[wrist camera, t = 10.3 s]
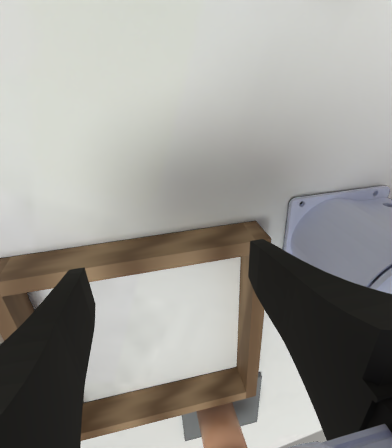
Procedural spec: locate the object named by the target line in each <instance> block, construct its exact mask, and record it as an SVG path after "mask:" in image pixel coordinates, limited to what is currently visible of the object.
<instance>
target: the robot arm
mask: <svg viewBox="0 0 392 448" xmlns="http://www.w3.org/2000/svg"><path fill="white" fill-rule="evenodd" d="M373 193H374V194H373ZM389 193H390V188H389V187H387V186H377V187H370V188H362V189H355V190H348V191H340V192H333V193H325V194H318V195H311V196H303V197H296V198H293V199H292V200H291V201H290V203H289V209H288V217H287V225H286V233H285V241H284V249H283V250H282V249H281V248H279V247H277V246H275V245H274V244H272V243H270V242H268V241H266V240H264V239H259V240H253V241H250V252H249V270H248V278H249V280H250V282H251V285H252V287H253V289H254V292H255V294H256V296H257V298H258V299H259V301H260V303H261V304H262V306H263V308H264V309H265V311H266V313H267V314H268V316H269V318H270V319H271V321H272V322H273V324H274V326H275V327H276V329H277V331H278V332H279V334H280V336H281V337H282V339H283V341H284V343H285V345H286V347H287V349H288V351H289V353H290V355H291V357H292V359H293V361H294V363H295V365H296V368H297V370H298V372H299V374H300V377H301V379H302V381H303V383H304V385H305V388H306V390H307V392H308V395H309V397H310V400H311V402H312V404H313V407H314V409H315V411H316V414H317V416H318V419H319V421H320V424H321V427H322V429H323V432H324V434H325V437H326V439H327V441H325V442H322V443H321V442H310V443H305V444H299V445H296V446H292V447H289V448H392V199H390V198H388V196H389ZM301 201H303V202H302V204H301V205H299V204H300V202H301ZM94 325H95V302H94V298H93V295H92V291H91V288H90V284H89V281H88V277H87V274H86V271H85V267H83V268H77V269H71V270H68V272H67V273H66V274H65V275H64V276H63V278H62V279H61V280H60V281H59V283H58V284H57V285H56V286H55V287H54V289H53V290H52V291H51V292H50V294H49V295H48V296H47V297H46V298H45V299H44V301H43V302H42V303H41V304H40V305H39V306H38V308H37V309H36V310H35V311H34V312H33V313H32V314H31V315H30V316H29V317H28V318H27V319H26V320H25V322H24V323H23V324H22V325H21V326H20V327H19V328H18V329H17V330H16V331H15V332H13V333H12V334H11V335H10V336H9V337H8V338H7V339H6V340H5V341H4V342H3V343H2V344H0V448H80V442H81V424H82V409H83V395H84V386H85V378H86V373H87V367H88V361H89V356H90V350H91V344H92V338H93V333H94Z"/></svg>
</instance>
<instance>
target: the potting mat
mask: <svg viewBox="0 0 392 448" xmlns="http://www.w3.org/2000/svg"><path fill="white" fill-rule="evenodd" d="M261 379H262V376H261V374H260V372H258V380H257V391H256V396H254V397H250V398H246V399H242V400H238V401H234V402H232V403H233V406H234V409H235V412H236V415H237V418H238V421H239V424H240V426H243V425H247V424H251V423H254V422H257V417H258V407H259V398H260V389H261ZM196 412H197V411H195V412H192V413H188V414H184V415H182V420H183V428H184V436H185V441H188V440H192V439H196V438H199V437H201V432H200V427H199V423H198V418H197V413H196Z"/></svg>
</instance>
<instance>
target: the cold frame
mask: <svg viewBox="0 0 392 448" xmlns="http://www.w3.org/2000/svg"><path fill="white" fill-rule="evenodd" d="M259 239H264V240H266V241H268V242H270V243H271V238H270V237H269V236H268V234H267V233H266V232H265V231H264V230H263V229H262V228H261V226H260V225H259V224H258V223H257V222H256V221H251V222H244V223H237V224H231V225H224V226H217V227H210V228H203V229H197V230H190V231H183V232H176V233H170V234H163V235H156V236H149V237H142V238H136V239H129V240H122V241H115V242H108V243H102V244H95V245H88V246H81V247H74V248H68V249H61V250H54V251H47V252H40V253H34V254H27V255H20V256H13V257H7V258H0V344H2V343H3V342H4V341H5V340H6V339H7V338H8V337H9V336H10V335H11V334H12V333H13V332H15V331H16V330H17V329H18V328H19V327H20V326H21V325H22V324H23V323H24V322H25V320H26V319H27V318H28V317H29V316H30V315H31V314H32V313H33V312H34V309H33V306H32V304H31V302H30V299H29V297H28V295H27V292H33V291H39V290H45V289H51V288H54V287H55V286H56V285H57V284H58V283H59V281H60V280H61V279H62V278H63V276H64V275H65V274H66V273H67V272H68V270H71V269H77V268H83V267H85V271H86V274H87V277H88V281H89V282H93V281H99V280H104V279H110V278H116V277H122V276H128V275H134V274H140V273H146V272H152V271H158V270H164V269H170V268H176V267H182V266H188V265H194V264H200V263H206V262H212V261H218V260H224V259H230V258H235V257H241V269H240V295H239V321H238V347H237V367H235V368H231V369H227V370H223V371H218V372H214V373H210V374H206V375H201V376H197V377H193V378H189V379H185V380H180V381H176V382H172V383H168V384H163V385H159V386H155V387H151V388H146V389H142V390H138V391H134V392H129V393H125V394H121V395H117V396H112V397H108V398H104V399H100V400H95V401H91V402H87V403H83V409H82V424H81V441H82V440H86V439H90V438H94V437H98V436H102V435H106V434H110V433H114V432H117V431H121V430H125V429H129V428H133V427H137V426H141V425H145V424H149V423H153V422H156V421H160V420H164V419H168V418H172V417H176V416H180V415H184V414H188V413H192V412H195V411H199V410H203V409H207V408H211V407H215V406H219V405H223V404H227V403H231V402H234V401H238V400H242V399H246V398H250V397H254V396H256V391H257V380H258V370H259V360H260V349H261V339H262V329H263V318H264V308H263V306H262V304H261V303H260V301H259V299H258V298H257V296H256V294H255V292H254V289H253V287H252V285H251V282H250V280H249V278H248V270H249V252H250V241H253V240H259Z"/></svg>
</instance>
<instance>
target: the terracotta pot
mask: <svg viewBox="0 0 392 448" xmlns="http://www.w3.org/2000/svg"><path fill="white" fill-rule="evenodd" d="M196 413H197V418H198V423H199V427H200V432H201V437H202V441H203V446H204V448H247V445H246V442H245V439H244V436H243V433H242V430H241V427H240V424H239V421H238V418H237V415H236V412H235V409H234V406H233V403H232V402H231V403H227V404H223V405H219V406H215V407H211V408H207V409H203V410H199V411H197V412H196Z"/></svg>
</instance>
